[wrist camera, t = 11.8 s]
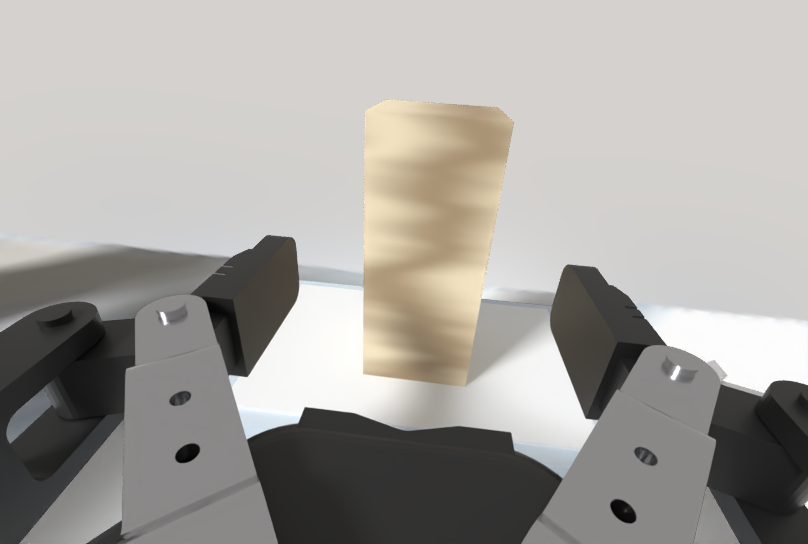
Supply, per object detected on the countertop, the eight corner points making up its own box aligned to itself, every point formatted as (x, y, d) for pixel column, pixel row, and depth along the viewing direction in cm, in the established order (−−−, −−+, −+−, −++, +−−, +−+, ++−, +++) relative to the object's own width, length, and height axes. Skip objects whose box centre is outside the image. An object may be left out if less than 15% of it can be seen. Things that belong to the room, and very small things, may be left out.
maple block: (362, 374, 19) (365, 111, 13) (380, 315, 23) (387, 99, 17) (464, 387, 18) (513, 122, 13) (462, 325, 23) (498, 107, 17)
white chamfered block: (211, 477, 18) (193, 416, 16) (298, 325, 29) (293, 277, 27) (601, 530, 17) (633, 471, 15) (542, 352, 27) (556, 304, 25)
